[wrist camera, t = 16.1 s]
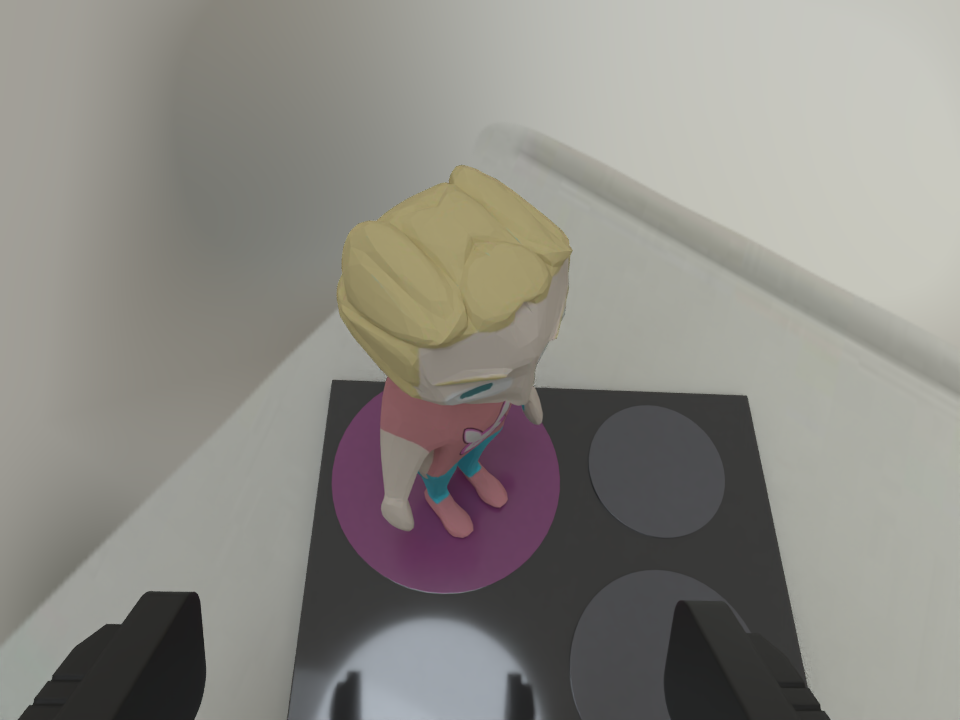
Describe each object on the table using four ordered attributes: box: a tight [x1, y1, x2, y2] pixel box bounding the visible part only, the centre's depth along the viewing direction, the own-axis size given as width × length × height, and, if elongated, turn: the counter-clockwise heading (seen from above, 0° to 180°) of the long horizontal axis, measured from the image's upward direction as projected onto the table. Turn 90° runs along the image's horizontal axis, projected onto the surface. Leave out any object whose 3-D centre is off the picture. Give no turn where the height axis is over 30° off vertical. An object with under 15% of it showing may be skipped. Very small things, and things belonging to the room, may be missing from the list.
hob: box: [287, 380, 808, 720], centre depth 24 cm, size 18×16×1 cm
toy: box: [337, 165, 573, 538], centre depth 19 cm, size 7×5×15 cm
